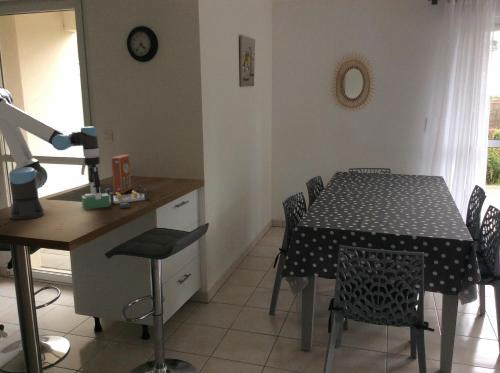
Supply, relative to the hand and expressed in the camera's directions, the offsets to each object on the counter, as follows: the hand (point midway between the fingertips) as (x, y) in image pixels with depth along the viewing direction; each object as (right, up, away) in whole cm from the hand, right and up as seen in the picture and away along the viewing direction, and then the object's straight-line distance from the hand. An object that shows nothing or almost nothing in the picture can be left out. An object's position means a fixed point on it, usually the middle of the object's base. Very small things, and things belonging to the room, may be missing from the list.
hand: (96, 196), depth 243 cm
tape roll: (+16, -6, -2) cm, 17 cm away
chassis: (+12, -2, +15) cm, 20 cm away
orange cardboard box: (+4, +2, +38) cm, 38 cm away
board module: (0, -5, +1) cm, 6 cm away
